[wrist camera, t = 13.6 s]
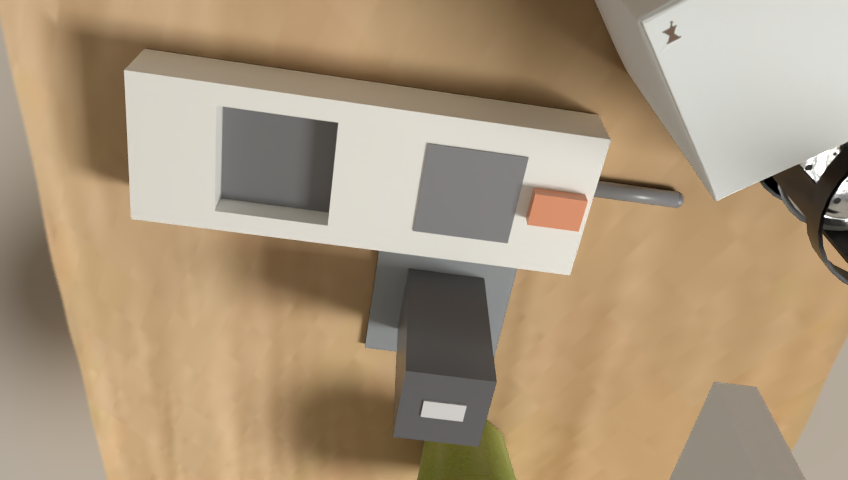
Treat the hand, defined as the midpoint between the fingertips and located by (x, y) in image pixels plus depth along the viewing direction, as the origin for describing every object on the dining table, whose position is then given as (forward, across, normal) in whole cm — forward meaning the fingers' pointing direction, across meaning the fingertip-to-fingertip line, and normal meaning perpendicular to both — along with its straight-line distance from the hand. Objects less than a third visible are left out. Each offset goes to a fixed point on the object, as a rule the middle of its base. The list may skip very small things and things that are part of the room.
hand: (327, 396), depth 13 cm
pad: (+33, +6, -21) cm, 39 cm away
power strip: (+33, +3, -11) cm, 35 cm away
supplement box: (+33, +15, +2) cm, 36 cm away
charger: (+32, +6, -21) cm, 39 cm away
